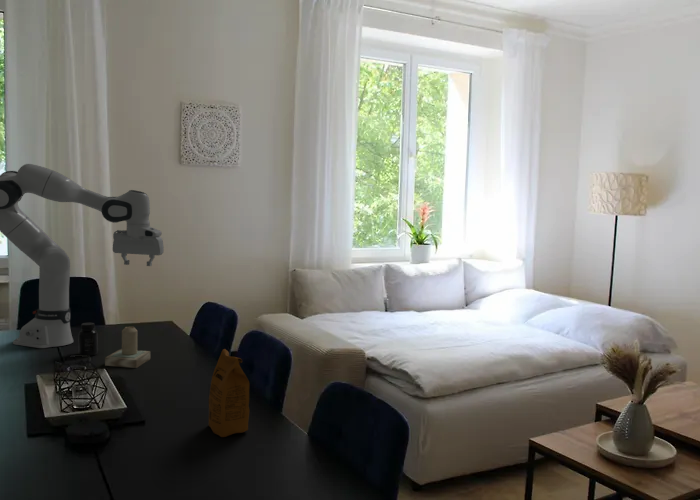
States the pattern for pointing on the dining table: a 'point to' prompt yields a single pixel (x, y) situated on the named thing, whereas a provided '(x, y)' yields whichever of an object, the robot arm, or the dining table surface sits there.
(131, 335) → the candle
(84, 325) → the supplement bottle
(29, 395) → the dining table surface
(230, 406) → the coffee package
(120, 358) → the plinth
